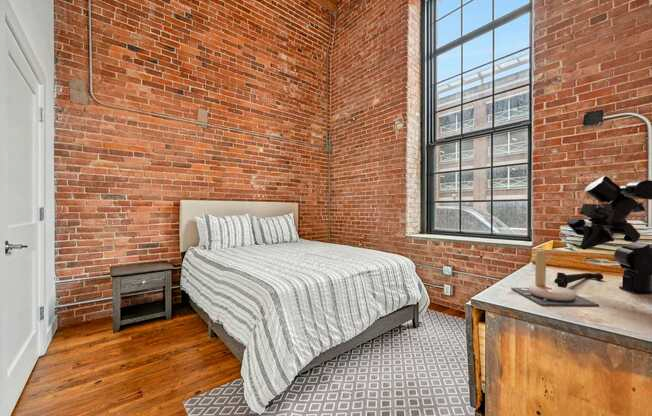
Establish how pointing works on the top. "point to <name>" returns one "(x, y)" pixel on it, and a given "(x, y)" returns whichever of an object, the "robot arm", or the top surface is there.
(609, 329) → the top surface
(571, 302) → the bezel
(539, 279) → the beige stand
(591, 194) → the robot arm
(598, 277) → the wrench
